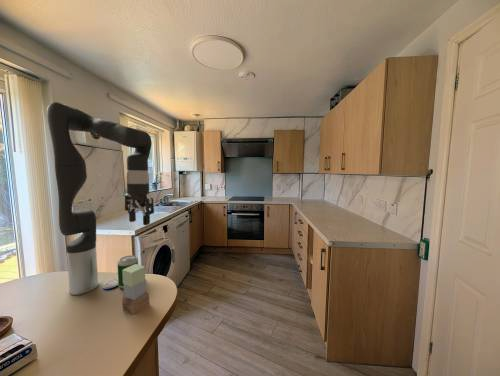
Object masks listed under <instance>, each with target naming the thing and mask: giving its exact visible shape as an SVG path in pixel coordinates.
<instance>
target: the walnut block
mask: <svg viewBox="0 0 500 376" xmlns="http://www.w3.org/2000/svg"><path fill="white" fill-rule="evenodd" d="M121 301H122V311H125V312H127V313H129V314H131V315H133V316H134V315H136V314H138V313H139V312H141V311H142V310H143V309H145V308H146V307H148V306H149V305H150V292H149V291H147V292H146V293H145V294H143V295H142V296H140V297H139V298H137V299H136V300H132V299H129V298H126V297H124V295H123V296H122V299H121Z"/></svg>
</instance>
